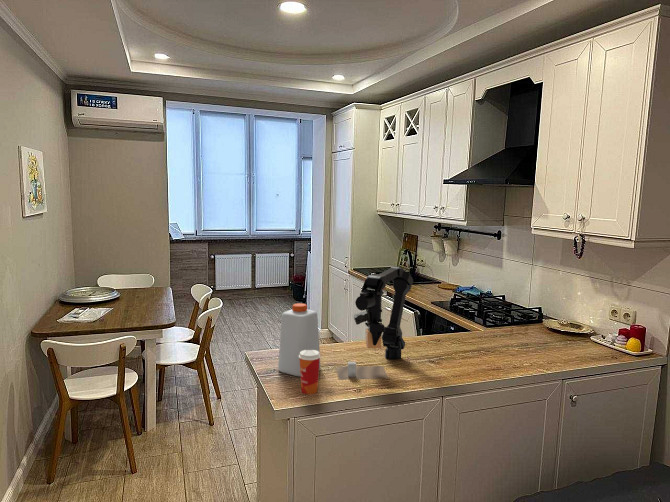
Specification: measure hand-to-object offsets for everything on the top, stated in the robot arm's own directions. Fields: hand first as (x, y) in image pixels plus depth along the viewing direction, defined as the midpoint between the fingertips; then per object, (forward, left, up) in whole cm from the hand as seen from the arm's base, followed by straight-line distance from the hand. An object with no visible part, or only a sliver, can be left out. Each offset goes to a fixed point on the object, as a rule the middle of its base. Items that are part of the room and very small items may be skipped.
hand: (373, 342), depth 192 cm
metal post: (+10, +7, -11) cm, 17 cm away
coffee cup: (+27, +18, -13) cm, 35 cm away
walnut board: (+5, +3, -13) cm, 14 cm away
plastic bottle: (+31, -4, -13) cm, 33 cm away
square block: (0, 0, -1) cm, 1 cm away
